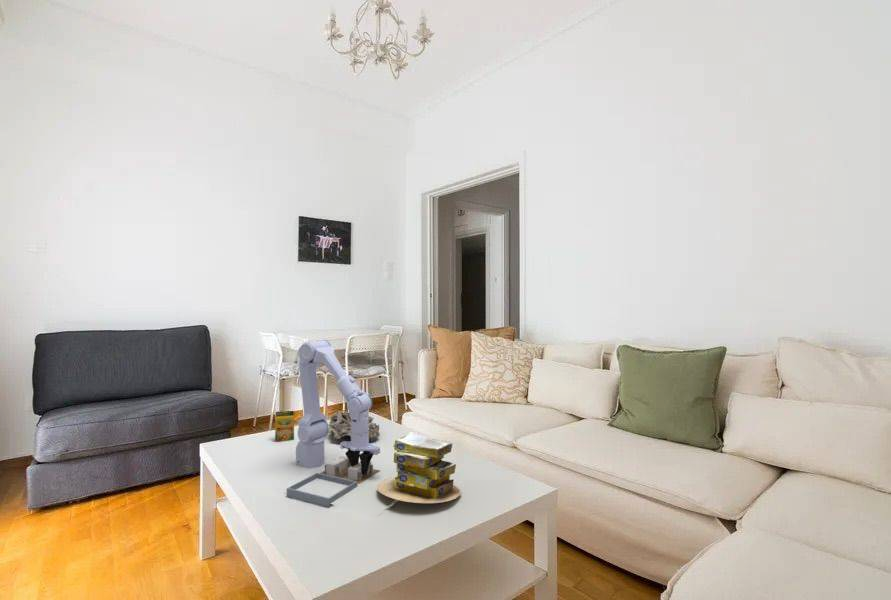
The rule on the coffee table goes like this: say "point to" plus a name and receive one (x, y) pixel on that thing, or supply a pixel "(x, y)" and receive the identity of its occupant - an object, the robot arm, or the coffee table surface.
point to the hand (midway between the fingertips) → (360, 472)
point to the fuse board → (344, 473)
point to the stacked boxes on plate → (421, 471)
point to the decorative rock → (349, 426)
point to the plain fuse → (337, 465)
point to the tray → (316, 498)
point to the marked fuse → (356, 471)
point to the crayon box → (284, 426)
